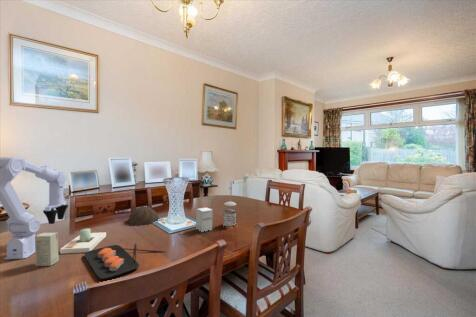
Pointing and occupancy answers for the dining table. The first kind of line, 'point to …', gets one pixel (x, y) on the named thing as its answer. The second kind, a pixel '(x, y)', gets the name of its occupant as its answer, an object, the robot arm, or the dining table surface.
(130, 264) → the sushi plate
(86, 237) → the peg
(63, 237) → the dining table surface
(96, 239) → the hole board
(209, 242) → the dining table surface
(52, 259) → the skincare box
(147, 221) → the decorative dome
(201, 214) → the supplement box
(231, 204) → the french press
